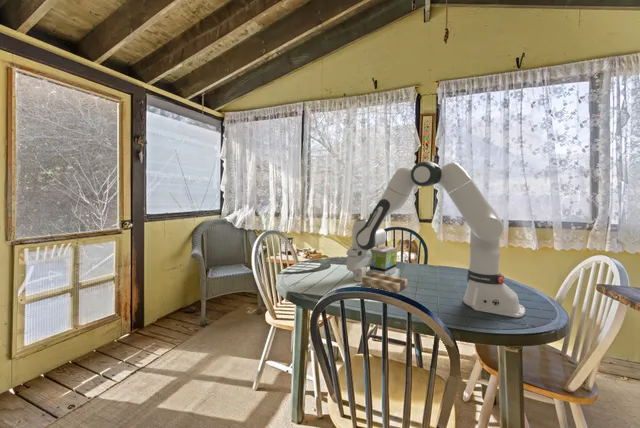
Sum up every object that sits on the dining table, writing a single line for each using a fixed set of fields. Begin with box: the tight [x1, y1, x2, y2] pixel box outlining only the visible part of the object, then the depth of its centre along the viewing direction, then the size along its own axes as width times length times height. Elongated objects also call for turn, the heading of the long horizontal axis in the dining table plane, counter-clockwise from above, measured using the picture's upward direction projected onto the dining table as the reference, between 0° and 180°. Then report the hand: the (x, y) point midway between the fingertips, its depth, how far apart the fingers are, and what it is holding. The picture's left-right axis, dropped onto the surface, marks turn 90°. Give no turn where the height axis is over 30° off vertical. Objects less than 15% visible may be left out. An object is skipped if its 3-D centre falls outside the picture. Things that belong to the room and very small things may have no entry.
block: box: [353, 267, 367, 283], centre depth 158 cm, size 4×4×7 cm
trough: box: [361, 272, 408, 294], centre depth 150 cm, size 19×12×4 cm, turn 51°
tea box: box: [368, 245, 398, 276], centre depth 171 cm, size 15×10×15 cm
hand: (359, 275), depth 159 cm, fingers open, 6 cm apart
